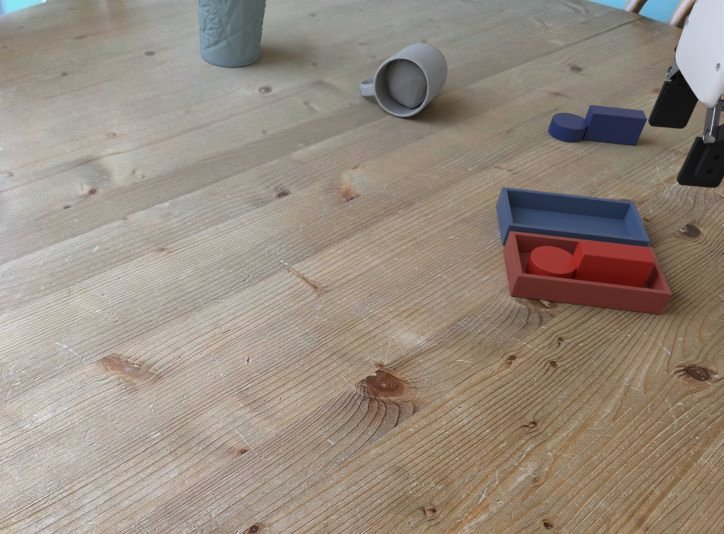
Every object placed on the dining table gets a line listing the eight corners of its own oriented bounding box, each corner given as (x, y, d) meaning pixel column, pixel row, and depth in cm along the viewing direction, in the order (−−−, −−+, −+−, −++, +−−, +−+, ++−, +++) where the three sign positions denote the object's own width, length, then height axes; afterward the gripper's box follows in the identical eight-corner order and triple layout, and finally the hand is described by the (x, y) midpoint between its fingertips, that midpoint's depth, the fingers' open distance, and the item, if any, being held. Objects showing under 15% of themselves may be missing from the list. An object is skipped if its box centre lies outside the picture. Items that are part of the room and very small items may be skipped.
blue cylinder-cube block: (629, 132, 96) (641, 106, 94) (637, 149, 93) (649, 122, 91) (545, 123, 97) (554, 97, 95) (550, 140, 94) (559, 113, 92)
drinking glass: (183, 59, 106) (181, -31, 98) (213, 35, 113) (214, -52, 104) (249, 75, 103) (253, -17, 95) (276, 48, 110) (282, -40, 102)
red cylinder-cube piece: (631, 270, 74) (646, 241, 72) (641, 299, 71) (657, 269, 69) (522, 257, 75) (533, 228, 73) (528, 285, 72) (539, 255, 69)
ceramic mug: (445, 100, 100) (457, 43, 95) (423, 124, 95) (434, 65, 90) (372, 81, 104) (380, 25, 99) (347, 103, 99) (354, 45, 94)
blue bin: (625, 221, 82) (634, 201, 80) (640, 261, 76) (650, 241, 75) (495, 206, 83) (501, 186, 81) (502, 245, 77) (508, 225, 76)
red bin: (642, 267, 76) (653, 247, 74) (660, 314, 70) (672, 294, 69) (503, 250, 77) (509, 230, 75) (510, 296, 71) (517, 275, 70)
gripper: (900, -21, 45) (760, 215, 57) (794, -98, 58) (697, 110, 70) (771, -30, 46) (659, 206, 58) (693, -104, 58) (614, 103, 70)
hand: (680, 153), depth 64 cm, fingers open, 9 cm apart
